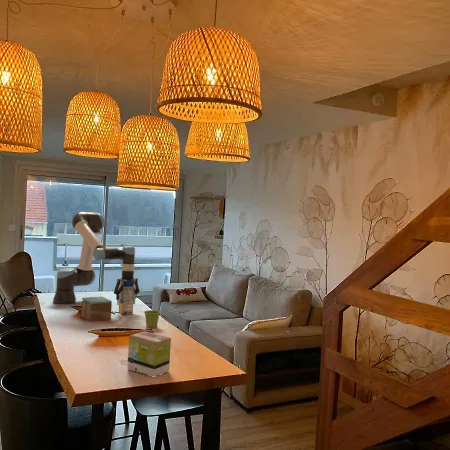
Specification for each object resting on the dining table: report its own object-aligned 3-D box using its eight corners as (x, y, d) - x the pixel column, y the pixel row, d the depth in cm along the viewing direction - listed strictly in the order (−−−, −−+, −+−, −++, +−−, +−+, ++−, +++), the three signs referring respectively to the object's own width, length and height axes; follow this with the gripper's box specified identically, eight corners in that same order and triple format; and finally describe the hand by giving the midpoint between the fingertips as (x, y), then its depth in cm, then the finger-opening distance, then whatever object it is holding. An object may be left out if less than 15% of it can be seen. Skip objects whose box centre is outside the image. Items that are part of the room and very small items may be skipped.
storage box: (81, 316, 277) (81, 300, 277) (101, 314, 286) (101, 299, 286) (90, 321, 267) (91, 304, 267) (110, 319, 275) (111, 303, 275)
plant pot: (139, 326, 262) (140, 311, 262) (152, 324, 269) (153, 309, 269) (149, 329, 255) (150, 314, 255) (162, 327, 262) (163, 312, 262)
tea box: (126, 370, 188) (128, 334, 187) (142, 364, 196) (144, 330, 196) (154, 378, 180) (156, 341, 180) (169, 372, 188) (171, 336, 188)
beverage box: (121, 315, 287) (123, 280, 287) (118, 311, 297) (120, 278, 297) (132, 314, 290) (134, 280, 289) (129, 311, 300) (130, 278, 299)
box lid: (82, 299, 277) (82, 297, 277) (102, 297, 286) (102, 296, 286) (91, 304, 267) (91, 302, 266) (111, 302, 275) (111, 301, 275)
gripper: (114, 271, 283) (112, 306, 283) (146, 270, 297) (144, 304, 298) (109, 269, 289) (107, 304, 289) (140, 269, 303) (138, 302, 303)
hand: (126, 304), depth 293 cm, fingers open, 10 cm apart
